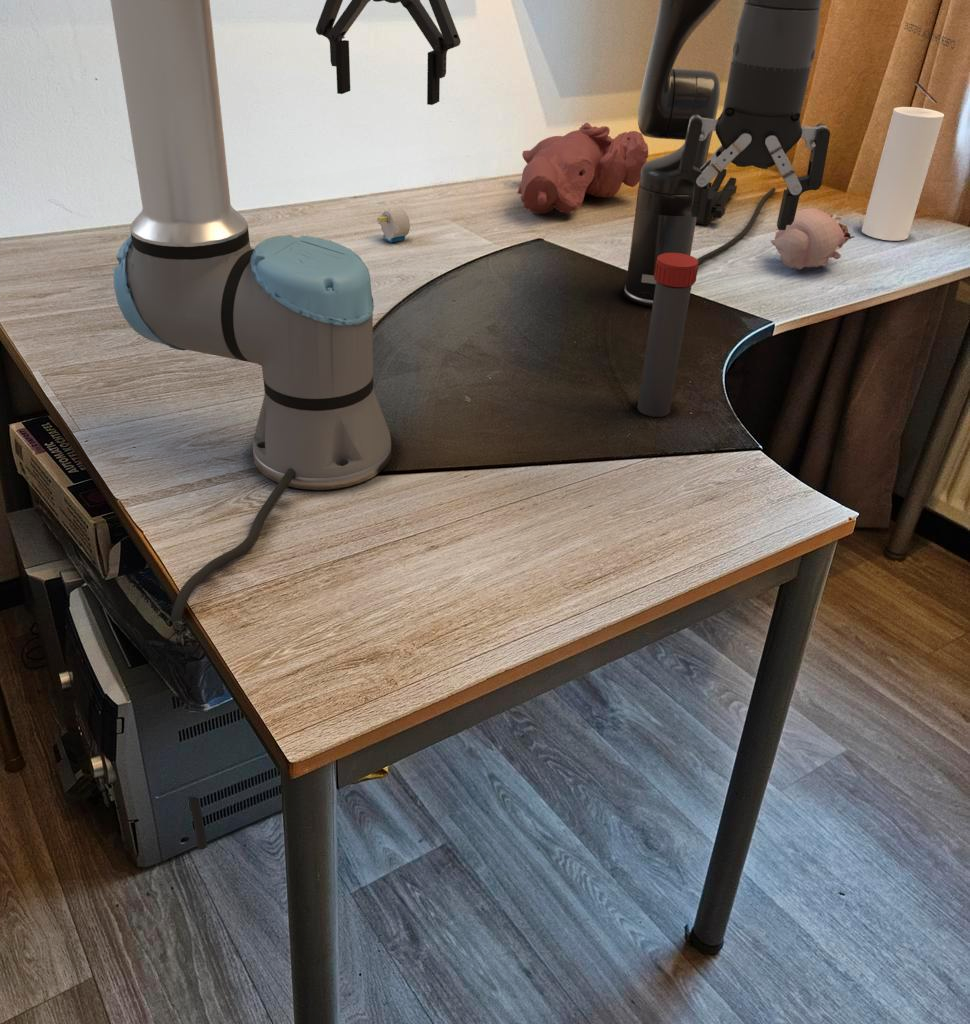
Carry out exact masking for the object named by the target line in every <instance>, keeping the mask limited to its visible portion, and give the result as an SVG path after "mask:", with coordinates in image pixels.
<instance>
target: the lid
mask: <svg viewBox="0 0 970 1024" xmlns="http://www.w3.org/2000/svg"><path fill="white" fill-rule="evenodd" d="M697 259H698V258H696V257H694V256H692V255H686V254H682V253H664V254H660V255H659V256H658V257H657V261H656V265H655V272H654V279H655V280H656V281H657V282H658V283H660V284H663V285H666V286H671V287H688V286H691V285H692V286H694V284H695V283H696V281H697V276H698V271H699V265H698V260H697ZM692 286H691V287H692Z"/></svg>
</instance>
